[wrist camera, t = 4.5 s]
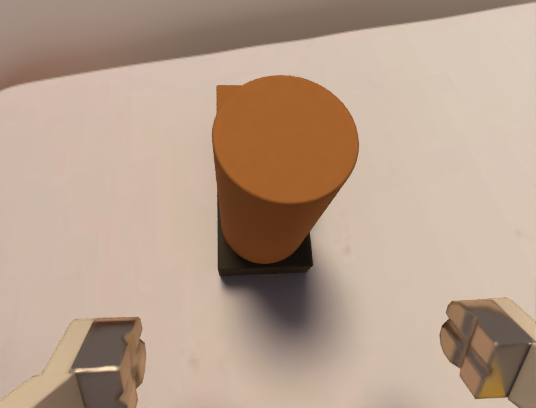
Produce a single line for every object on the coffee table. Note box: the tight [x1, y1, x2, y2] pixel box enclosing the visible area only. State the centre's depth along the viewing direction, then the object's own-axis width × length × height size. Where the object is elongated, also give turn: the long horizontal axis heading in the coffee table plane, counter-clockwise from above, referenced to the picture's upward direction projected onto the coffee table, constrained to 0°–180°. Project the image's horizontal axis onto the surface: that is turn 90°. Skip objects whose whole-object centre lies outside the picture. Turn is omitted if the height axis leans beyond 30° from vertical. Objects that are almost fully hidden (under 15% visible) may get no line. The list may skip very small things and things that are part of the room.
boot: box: [212, 75, 359, 276], centre depth 17 cm, size 5×10×11 cm, turn 3°
